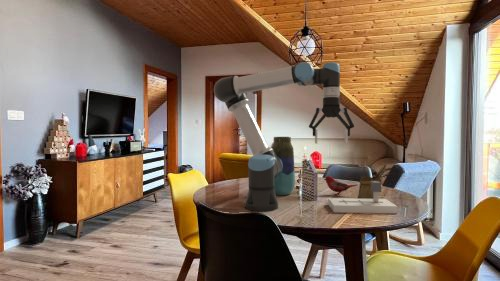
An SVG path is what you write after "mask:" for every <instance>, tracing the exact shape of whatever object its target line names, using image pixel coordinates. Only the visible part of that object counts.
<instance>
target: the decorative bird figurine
mask: <svg viewBox="0 0 500 281" xmlns="http://www.w3.org/2000/svg"><path fill="white" fill-rule="evenodd" d="M323 180H324V181H325V182H326V184H327V186H328V188H329V189H330V190H331V191H333V192H334V193H333V195H335V196H337V195H338V196H340V195H341V193H342V192H345V191H347V190H348V189H350V188H353V187H356V186H358V184H347V183H344V182H342V181H339V180H336V179H334V177H332V176H330V175H328V176H327V175H326V177H325V178H324V179H323ZM335 192H336V193H335Z"/></svg>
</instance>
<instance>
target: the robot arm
mask: <svg viewBox="0 0 500 281" xmlns="http://www.w3.org/2000/svg"><path fill="white" fill-rule="evenodd" d="M340 67H341V66H340V64H339V63H338V62H334V61H333V62H325V63H323V64H322V67H320V68H314V67H313V65H312V64H310V63H309V62H307V61H302V62H299V63H297V65H293V66H288V67H282V68H277V69H273V70H268V71H263V72H258V73H253V74H247V75H244V76H238V75H233V76H227V77H222V78H220V79H218V80H217V81H216V82H215V84H214V86H213V93H214V96H215V98H216V99H217V100H219V102H223V103H224V104H225V106H226V108H227V110H228V111H229V112H231V113H233V116H234V117H235V119H236V122H237V124H238V126H239V128H240V131H241V133H242V135H243V137H244V138H245V141H246V142H247V144H248V146H249V148H250V151H251V153H252V155H251V156H250V157H249V158H248V162H247V167H248V172H247V173H248V191H247V195H246V197H245V198H246V199H245V202H244V208H245V207H246V208H247V209H246V208H245V209H246V210H248V209H251V210H250V211H253V210H255V211H254V212H269V211H270V212H271V211H273V210H274V211H275V210H278V209H279V201H278V198H277V194H275V191H274V179H275V178H277V177H278V176H279V175H280V173H281V172H282V168H283V165H282V161H281V160H280V158H279V157H277V156H276V154H275V152H274V150H273V149H272V148H271V147H270V146H269V145H268V143H267V141H266V139H265V137H264V134H263V133H262V131H261V129H260V126H259V124H258V123H257V120H256V119H255V116H254V114H253V112H252V111H251V108H250V106H249V102H250V99H249V97H248V93H252V92H257V91H263V90H268V89H273V88H279V87H283V86H287V85H294V84H295V85H297V86H300V87H301V86H304V87H306V86H318V85H319V86H320V85H321V86H322V97H323V98H322V108H319V107H316V108H315V113H314V115H313V116H312V118H311V121H310V123H309V125H308V128H309V129H311V130H312V137H314V144H316V145H317V144H318V129H317V128H318V126H319V125H320V124H321V123H323V121H324V119H325V118H337V119H338V120H339V122H340V123H341V124H342V125H343V126H344V127H345V129H344V144H348V142H349V141H348V140H349V138H348V137H350V136H351V129H353V128H355V124H354V123H353V121H352V119H351V117H350V115H349V113H348V108H347V107H341V100H340V99H341V98H340V95H341V92H340V90H341V88H340V87H341V86H340V85H341V72H340V71H341V68H340ZM321 112H322V116H321V117H320V118H319V119H318V120H317V122H316V119H317V118H318V115H319V114H320V113H321ZM340 113H342V114H343V115H344V117H345V119H346V120H345V119H344V118H343V117H342V115H341V114H340ZM315 122H316V123H315ZM347 122H348V123H347ZM314 123H315V124H314Z"/></svg>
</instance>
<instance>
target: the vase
mask: <svg viewBox="0 0 500 281" xmlns="http://www.w3.org/2000/svg"><path fill="white" fill-rule="evenodd" d="M291 139H292V138H291V136H273V144H272V146H271V147H270V148H272V149H273V150H274V152H275V154H276V156H277V157H279V158H280V160H281V161H282V165H283V168H282V172H281V173H280V175H279V176H278V177H277V178H275V179H274V191H275V194H276V196H288V195H291V194H292V193H293V191H294V189H295V185H296V172H295V154H294V147H293V145H292V140H291Z"/></svg>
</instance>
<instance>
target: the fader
mask: <svg viewBox="0 0 500 281" xmlns="http://www.w3.org/2000/svg"><path fill="white" fill-rule="evenodd" d="M371 190H372V191H373V192H374V197H373V201H374V202H378V199H379V193H382V181H381V182H379V181H371Z"/></svg>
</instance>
